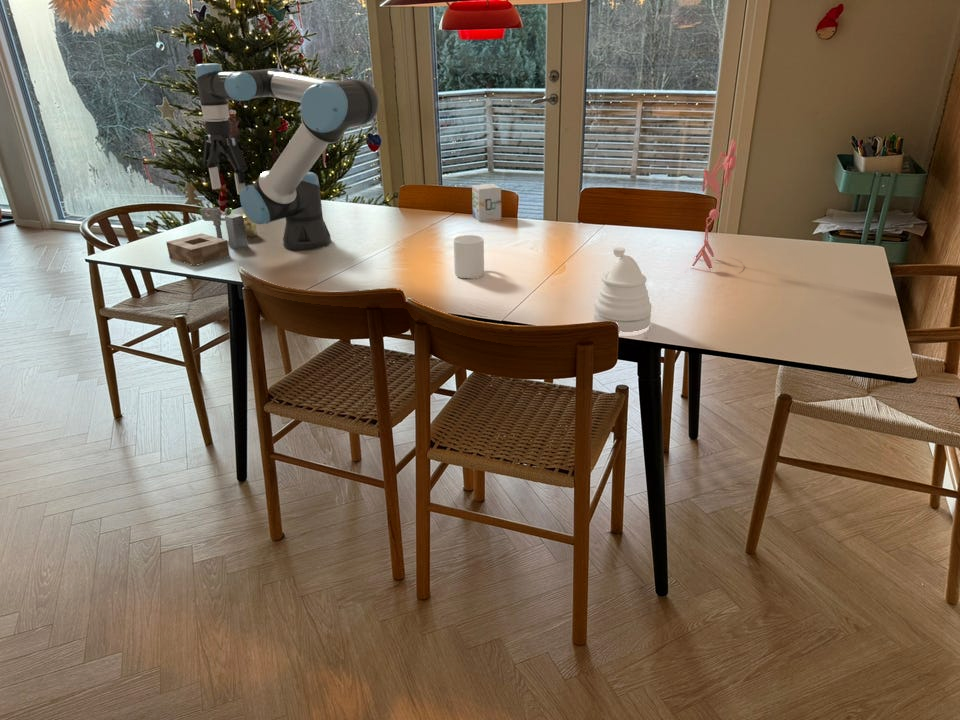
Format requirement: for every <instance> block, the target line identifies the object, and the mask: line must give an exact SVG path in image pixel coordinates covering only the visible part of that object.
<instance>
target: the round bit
mask: <svg viewBox="0 0 960 720" xmlns="http://www.w3.org/2000/svg"><path fill="white" fill-rule="evenodd" d="M240 215H243V219H244V225H245V231H246V237H247V240H249V239H248V238H250V239H254V237H255V238H257V237H258V230H257V224H256V223H253V222H252V221H251V220H250V219H249V218H248V217H247V216H246V214H245V213H240Z"/></svg>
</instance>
